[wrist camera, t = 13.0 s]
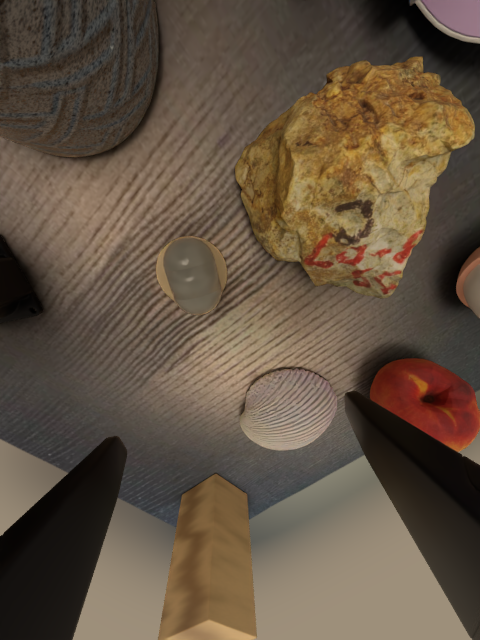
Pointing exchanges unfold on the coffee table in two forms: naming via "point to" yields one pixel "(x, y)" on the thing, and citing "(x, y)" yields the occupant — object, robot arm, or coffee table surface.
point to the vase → (75, 72)
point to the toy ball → (470, 283)
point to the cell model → (453, 17)
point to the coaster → (218, 258)
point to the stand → (210, 567)
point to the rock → (353, 173)
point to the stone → (192, 275)
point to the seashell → (288, 409)
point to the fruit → (429, 400)
